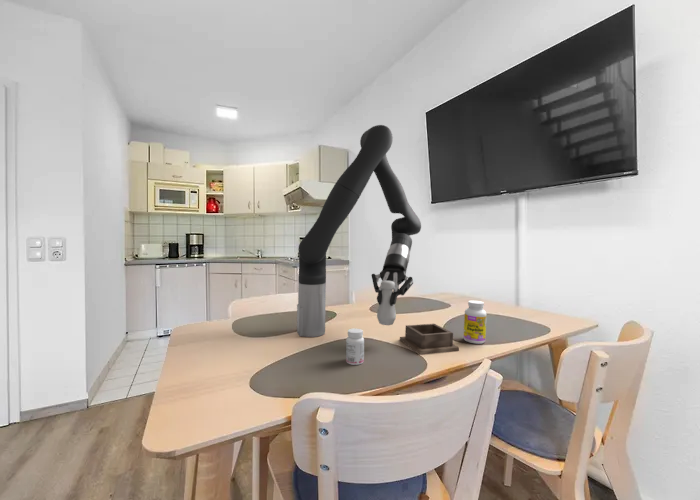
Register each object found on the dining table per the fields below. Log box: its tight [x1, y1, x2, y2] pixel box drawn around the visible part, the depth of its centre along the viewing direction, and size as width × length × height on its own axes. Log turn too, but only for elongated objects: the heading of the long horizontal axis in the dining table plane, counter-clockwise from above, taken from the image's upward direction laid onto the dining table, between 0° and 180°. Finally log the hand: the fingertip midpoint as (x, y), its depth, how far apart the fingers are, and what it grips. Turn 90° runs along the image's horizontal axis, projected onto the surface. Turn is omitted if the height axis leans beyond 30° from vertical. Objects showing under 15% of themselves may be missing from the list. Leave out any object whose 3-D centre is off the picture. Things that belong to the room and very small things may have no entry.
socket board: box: [399, 323, 460, 355], centre depth 98 cm, size 13×13×5 cm
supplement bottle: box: [463, 300, 488, 345], centre depth 103 cm, size 7×7×13 cm
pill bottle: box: [345, 327, 365, 366], centre depth 84 cm, size 5×5×8 cm
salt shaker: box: [376, 280, 397, 326], centre depth 96 cm, size 6×6×13 cm
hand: (385, 303), depth 94 cm, fingers closed on salt shaker, 3 cm apart
